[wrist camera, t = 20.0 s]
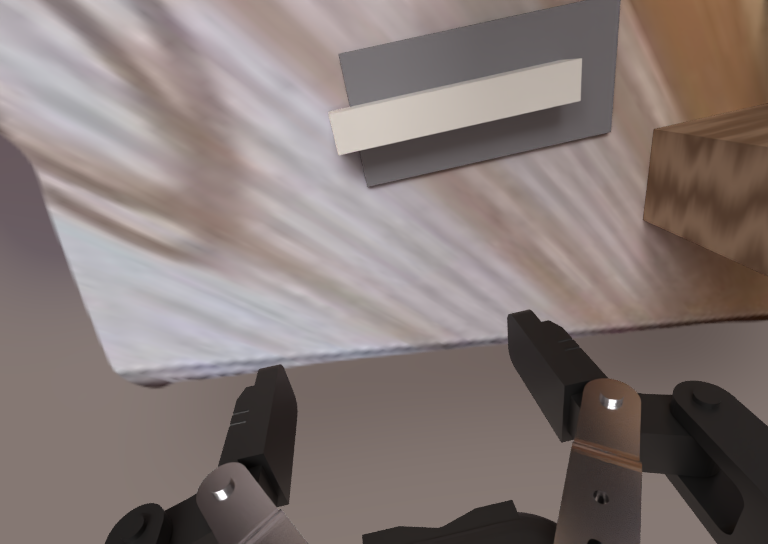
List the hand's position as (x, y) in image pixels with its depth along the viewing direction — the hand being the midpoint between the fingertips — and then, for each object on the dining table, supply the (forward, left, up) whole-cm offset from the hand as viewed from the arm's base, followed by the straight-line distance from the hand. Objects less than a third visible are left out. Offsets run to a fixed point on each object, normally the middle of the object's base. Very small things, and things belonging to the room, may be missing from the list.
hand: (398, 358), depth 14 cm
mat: (-4, +16, -36) cm, 39 cm away
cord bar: (-4, +12, -35) cm, 37 cm away
